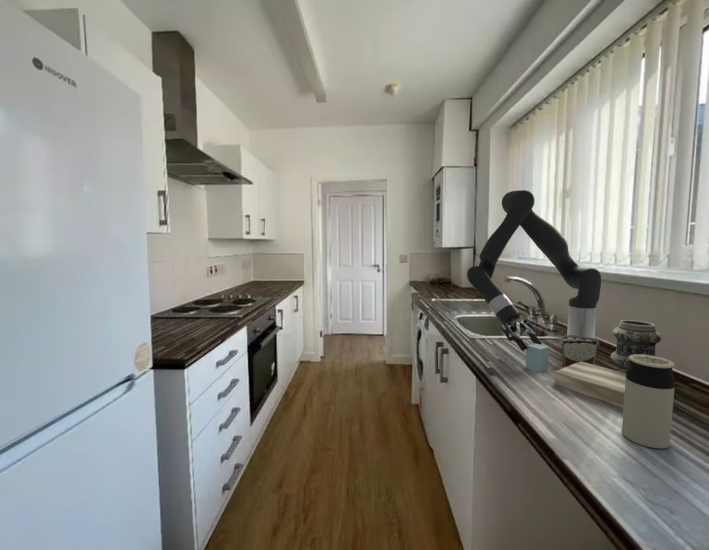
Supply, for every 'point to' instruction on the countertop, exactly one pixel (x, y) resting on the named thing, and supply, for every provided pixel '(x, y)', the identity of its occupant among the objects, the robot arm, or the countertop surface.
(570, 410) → the countertop surface
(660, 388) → the travel mug
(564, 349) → the food container
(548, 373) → the countertop surface
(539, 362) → the blue-grey block
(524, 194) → the robot arm
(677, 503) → the countertop surface
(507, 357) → the countertop surface
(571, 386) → the birch base
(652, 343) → the apothecary jar
